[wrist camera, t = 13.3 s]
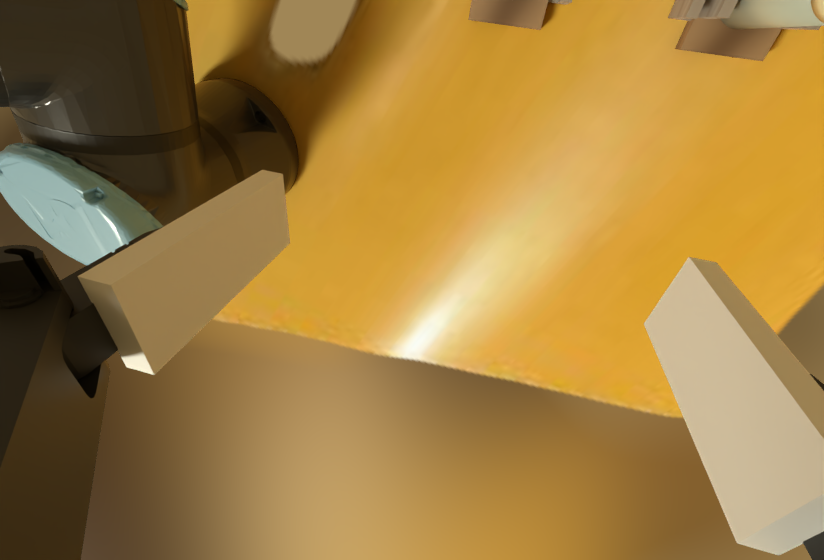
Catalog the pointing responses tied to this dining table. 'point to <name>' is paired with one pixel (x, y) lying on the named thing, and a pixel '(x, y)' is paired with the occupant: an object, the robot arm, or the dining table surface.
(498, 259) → the dining table surface
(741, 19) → the fuse
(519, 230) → the dining table surface
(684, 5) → the fuse clips
